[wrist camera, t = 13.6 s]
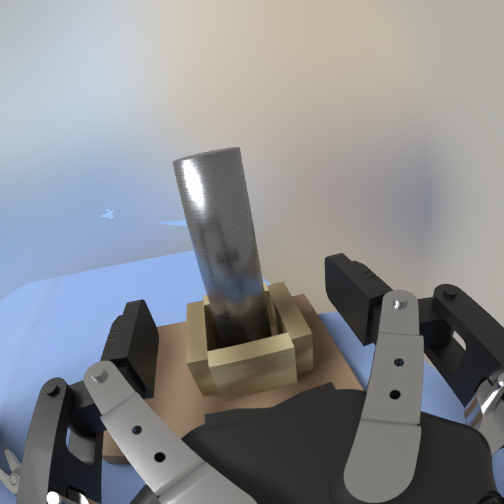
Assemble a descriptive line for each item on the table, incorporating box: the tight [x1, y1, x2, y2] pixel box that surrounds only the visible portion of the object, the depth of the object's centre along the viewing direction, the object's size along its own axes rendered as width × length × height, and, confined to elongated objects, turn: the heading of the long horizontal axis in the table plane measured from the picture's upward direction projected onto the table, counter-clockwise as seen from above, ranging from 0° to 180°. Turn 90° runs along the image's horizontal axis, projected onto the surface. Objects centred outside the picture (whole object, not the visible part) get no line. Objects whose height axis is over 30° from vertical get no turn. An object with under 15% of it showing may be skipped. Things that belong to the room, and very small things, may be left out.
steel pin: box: [173, 147, 272, 348], centre depth 19 cm, size 4×4×16 cm
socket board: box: [102, 282, 364, 464], centre depth 20 cm, size 20×15×6 cm
